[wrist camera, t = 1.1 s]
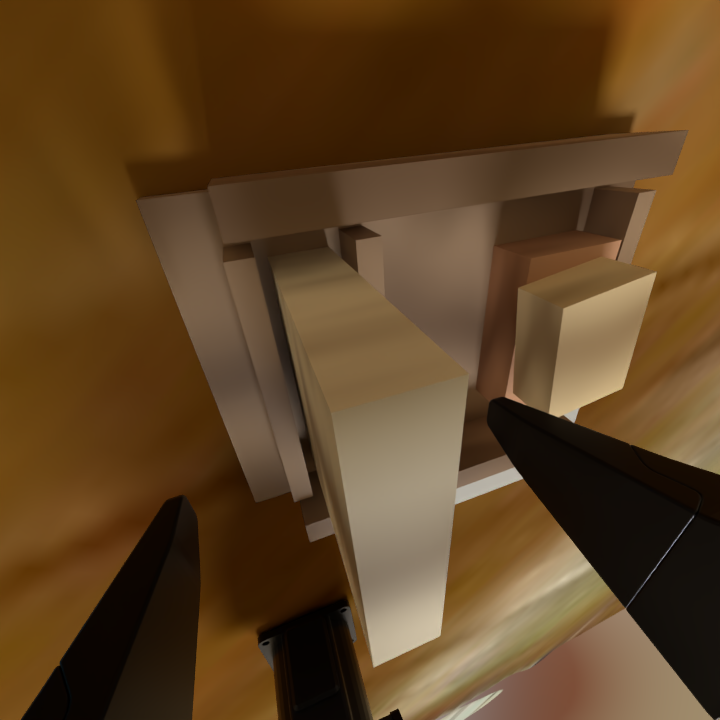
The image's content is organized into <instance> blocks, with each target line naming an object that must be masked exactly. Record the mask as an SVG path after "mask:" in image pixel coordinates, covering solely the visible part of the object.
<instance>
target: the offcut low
mask: <svg viewBox="0 0 720 720" xmlns="http://www.w3.org/2000/svg"><path fill="white" fill-rule="evenodd" d="M621 241H622V240H619V239H615V238H610V237H606V236H601V235H597V234H592V233H588V232H583V231H579V230H574V231H569V232H563V233H558V234H553V235H547V236H542V237H537V238H532V239H526V240H521V241H516V242H510V243H505V244H500V245H495V246H494V248H493V256H492V264H491V272H490V280H489V288H488V295H487V303H486V311H485V319H484V327H483V335H482V343H481V351H480V359H479V367H478V375H477V382H476V390H477V391H478V392H479V393H480V394H482V395H483V396H484V397H485V398H486V399H487V400H488V401H489V402H490V400H492V399H495V398H498V397H506V398H508V399H511V400H514V401H516V402H519V403H522V404H524V405H527V404H525V403H524V402H523V401H522V400H521V399H519V398H518V397H517V396H516V395H515V394H513V377H514V358H515V339H516V320H517V301H518V288H519V287H521V286H524V285H527V284H529V283H532V282H535V281H537V280H540V279H543V278H545V277H548V276H551V275H553V274H556V273H559V272H561V271H564V270H567V269H569V268H572V267H575V266H577V265H580V264H583V263H585V262H588V261H591V260H593V259H596V258H599V257H601V256H602V257H605V258H609V259H613V260H615V259H616V256H617V253H618V250H619V247H620V244H621ZM527 406H528V405H527Z"/></svg>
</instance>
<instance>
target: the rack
mask: <svg viewBox="0 0 720 720" xmlns="http://www.w3.org/2000/svg"><path fill="white" fill-rule="evenodd" d="M687 133H688V130H680V131H659V132H639V133H618V134H605V135H596V136H587V137H578V138H569V139H560V140H552V141H543V142H534V143H525V144H516V145H507V146H498V147H489V148H480V149H471V150H463V151H454V152H445V153H436V154H427V155H418V156H409V157H400V158H391V159H382V160H374V161H365V162H356V163H347V164H338V165H329V166H320V167H311V168H302V169H293V170H285V171H276V172H267V173H258V174H249V175H240V176H231V177H222V178H213V179H211V180H210V182H209V184H208V186H207V187H208V189H206V190H198V191H190V192H181V193H173V194H164V195H156V196H148V197H141V198H139V199H137V200H136V202H137V205H138V207H139V210H140V212H141V215H142V217H143V220H144V222H145V225H146V227H147V230H148V232H149V235H150V237H151V240H152V242H153V245H154V247H155V250H156V253H157V255H158V258H159V260H160V263H161V265H162V268H163V270H164V273H165V275H166V278H167V280H168V283H169V285H170V288H171V290H172V293H173V295H174V298H175V300H176V303H177V305H178V308H179V310H180V313H181V316H182V318H183V321H184V323H185V326H186V328H187V331H188V333H189V336H190V338H191V341H192V343H193V346H194V348H195V351H196V353H197V356H198V358H199V361H200V363H201V366H202V368H203V371H204V373H205V376H206V379H207V381H208V384H209V386H210V389H211V391H212V394H213V396H214V399H215V401H216V404H217V406H218V409H219V411H220V414H221V416H222V419H223V421H224V424H225V426H226V429H227V431H228V434H229V436H230V439H231V442H232V444H233V447H234V449H235V452H236V454H237V457H238V459H239V462H240V464H241V467H242V469H243V472H244V474H245V477H246V479H247V482H248V484H249V487H250V489H251V492H252V494H253V497H254V499H255V502H256V503H258V502H261V501H264V500H267V499H270V498H273V497H276V496H279V495H282V494H285V493H288V492H292V496H293V499H294V502H297V501H300V504H301V509H302V513H303V518H304V522H305V527H306V530H307V534H308V537H309V541H310V542H313V541H316V540H318V539H321V538H324V537H326V536H329V535H332V534H335V532H334V529H333V525H332V522H331V519H330V515H329V512H328V508H327V505H326V501H325V498H324V494H323V491H322V487H321V484H320V481H319V477H318V474H317V470H316V467H315V463H314V460H313V456H312V452H311V448H310V444H309V439H308V435H307V430H306V426H305V422H304V417H303V413H302V408H301V404H300V399H299V395H298V391H297V386H296V382H295V377H294V373H293V368H292V364H291V360H290V355H289V351H288V346H287V342H286V338H285V333H284V329H283V324H282V320H281V315H280V311H279V307H278V302H277V298H276V293H275V289H274V284H273V280H272V276H271V271H270V267H269V262H268V258H267V257H270V256H276V255H282V254H288V253H294V252H300V251H306V250H312V249H318V248H323V247H329V248H331V249H332V250H333V251H334V252H335V253H336V254H337V255H338V256H339V257H341V258H342V259H343V260H344V261H345V262H346V263H347V264H348V265H349V266H350V267H352V268H353V269H354V270H355V271H356V272H357V273H358V274H359V275H360V276H362V277H363V278H364V279H365V280H366V281H367V282H368V283H369V284H370V285H371V286H373V287H374V288H375V289H376V290H377V291H378V292H379V293H380V294H381V295H383V296H384V297H385V298H386V299H387V300H388V301H389V302H390V303H391V304H392V305H394V306H395V307H396V308H397V309H398V310H399V311H400V312H401V313H402V314H404V315H405V316H406V317H407V318H408V319H409V320H410V321H411V322H412V323H413V324H415V325H416V326H417V327H418V328H419V329H420V330H421V331H422V332H423V333H425V334H426V335H427V336H428V337H429V338H430V339H431V340H432V341H433V342H434V343H436V344H437V345H438V346H439V347H440V348H441V349H442V350H443V351H444V352H446V353H447V354H448V355H449V356H450V357H451V358H452V359H453V360H454V361H455V362H457V363H458V364H459V365H460V366H461V367H462V368H463V369H464V370H465V371H467V372H468V373H469V380H468V389H467V398H466V407H465V416H464V425H463V434H462V444H461V453H460V462H459V471H458V480H457V488H460V487H462V486H465V485H468V484H471V483H473V482H476V481H479V480H481V479H484V478H487V477H490V476H492V475H495V474H498V473H501V472H503V471H506V470H509V469H511V468H514V466H513V464H512V463H511V461H510V460H509V458H508V457H507V455H506V453H505V452H504V450H503V449H502V447H501V446H500V444H499V442H498V441H497V439H496V438H495V436H494V435H493V433H492V431H491V430H490V428H489V427H488V424H487V420H486V419H487V412H488V406H489V401H488V400H487V399H486V398H485V397H484V396H483V395H482V394H480V393H479V392H478V391H477V390H476V382H477V375H478V367H479V359H480V351H481V343H482V335H483V327H484V319H485V311H486V303H487V295H488V288H489V280H490V272H491V264H492V256H493V248H494V246H495V245H500V244H505V243H510V242H516V241H521V240H526V239H532V238H537V237H542V236H547V235H553V234H558V233H563V232H569V231H574V230H579V231H583V232H588V233H592V234H597V235H601V236H606V237H610V238H615V239H619V240H622V241H621V244H620V247H619V250H618V253H617V256H616V259H615V260H616V261H620V262H623V263H627V264H631V262H632V259H633V256H634V253H635V250H636V247H637V244H638V241H639V239H640V236H641V233H642V230H643V227H644V224H645V221H646V218H647V215H648V213H649V210H650V207H651V204H652V201H653V198H654V195H655V192H656V190H648V189H636V188H633V187H634V184H635V181H636V180H641V179H648V178H654V177H660V176H667V175H672V174H673V172H674V169H675V166H676V163H677V161H678V158H679V155H680V152H681V150H682V147H683V144H684V141H685V138H686V136H687ZM559 418H562V419H564V420H567V421H570V422H572V421H571V420H569V419H568V418H567V417H565V416H564V415H562V416H560V417H559ZM572 423H573V422H572Z"/></svg>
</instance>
